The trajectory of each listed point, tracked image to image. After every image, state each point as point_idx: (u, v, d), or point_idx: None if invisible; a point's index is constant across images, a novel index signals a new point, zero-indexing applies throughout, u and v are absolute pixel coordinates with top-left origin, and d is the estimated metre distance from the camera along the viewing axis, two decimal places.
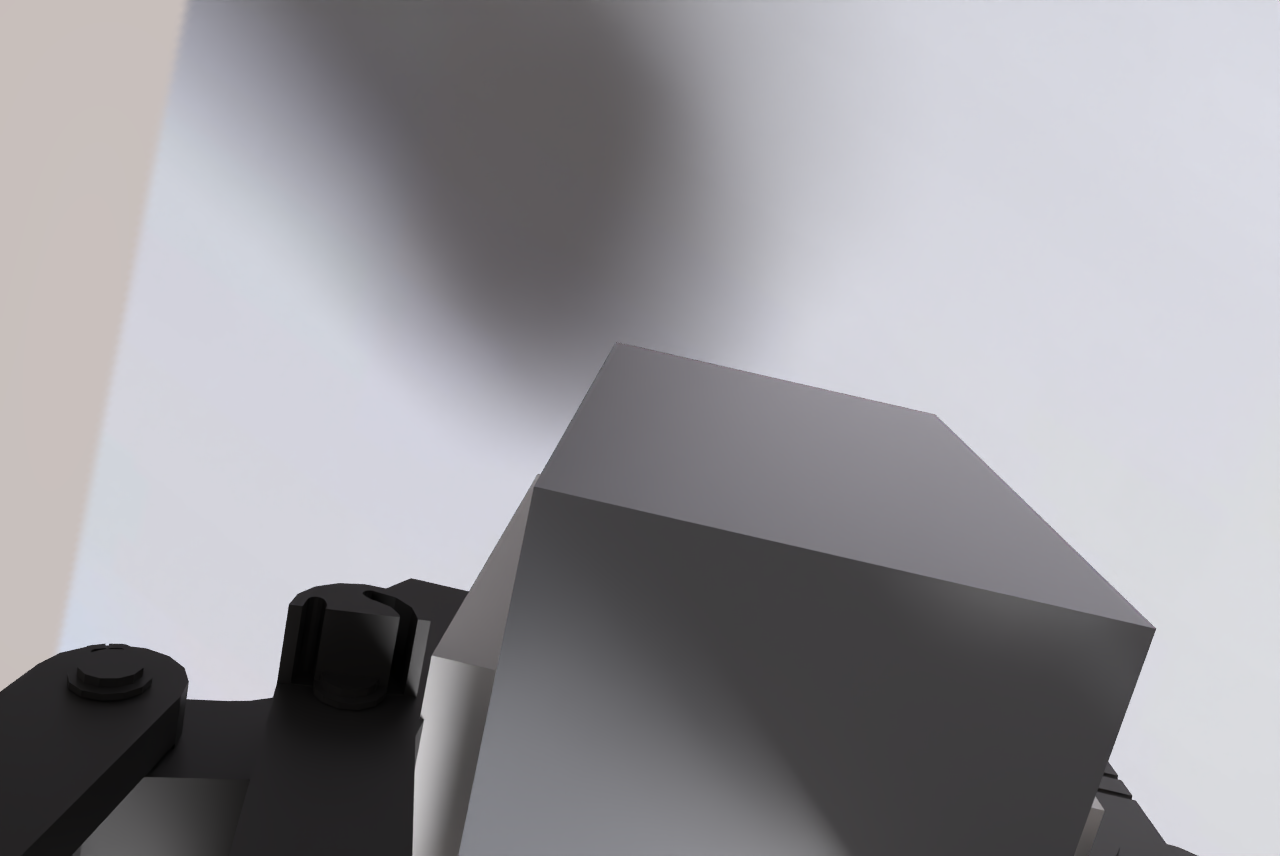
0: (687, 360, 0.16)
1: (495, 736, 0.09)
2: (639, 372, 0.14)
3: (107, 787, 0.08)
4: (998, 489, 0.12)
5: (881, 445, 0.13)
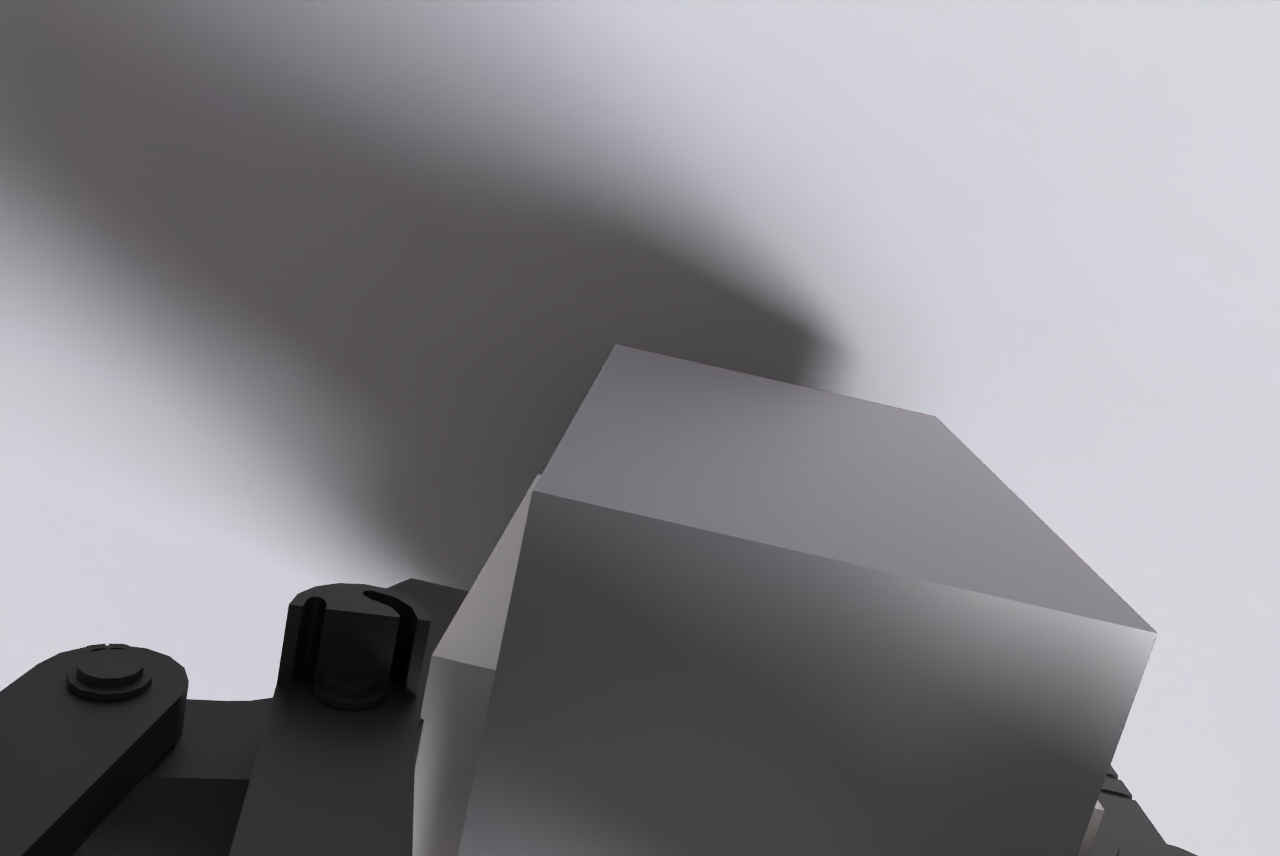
0: (687, 362, 0.16)
1: (493, 741, 0.09)
2: (638, 374, 0.14)
3: (107, 787, 0.08)
4: (999, 492, 0.12)
5: (881, 447, 0.13)
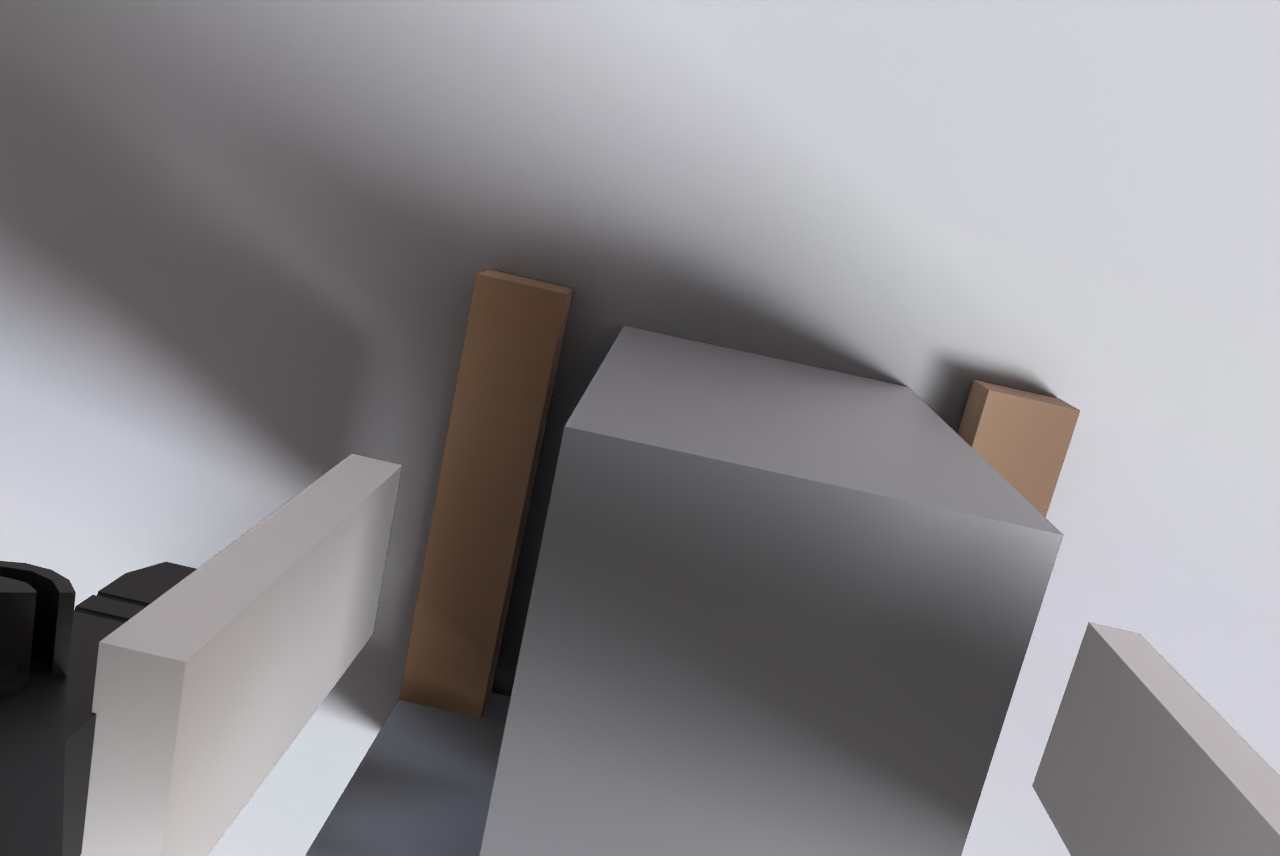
0: (687, 340, 0.18)
1: (534, 631, 0.11)
2: (645, 348, 0.16)
3: None
4: (953, 441, 0.14)
5: (855, 407, 0.15)
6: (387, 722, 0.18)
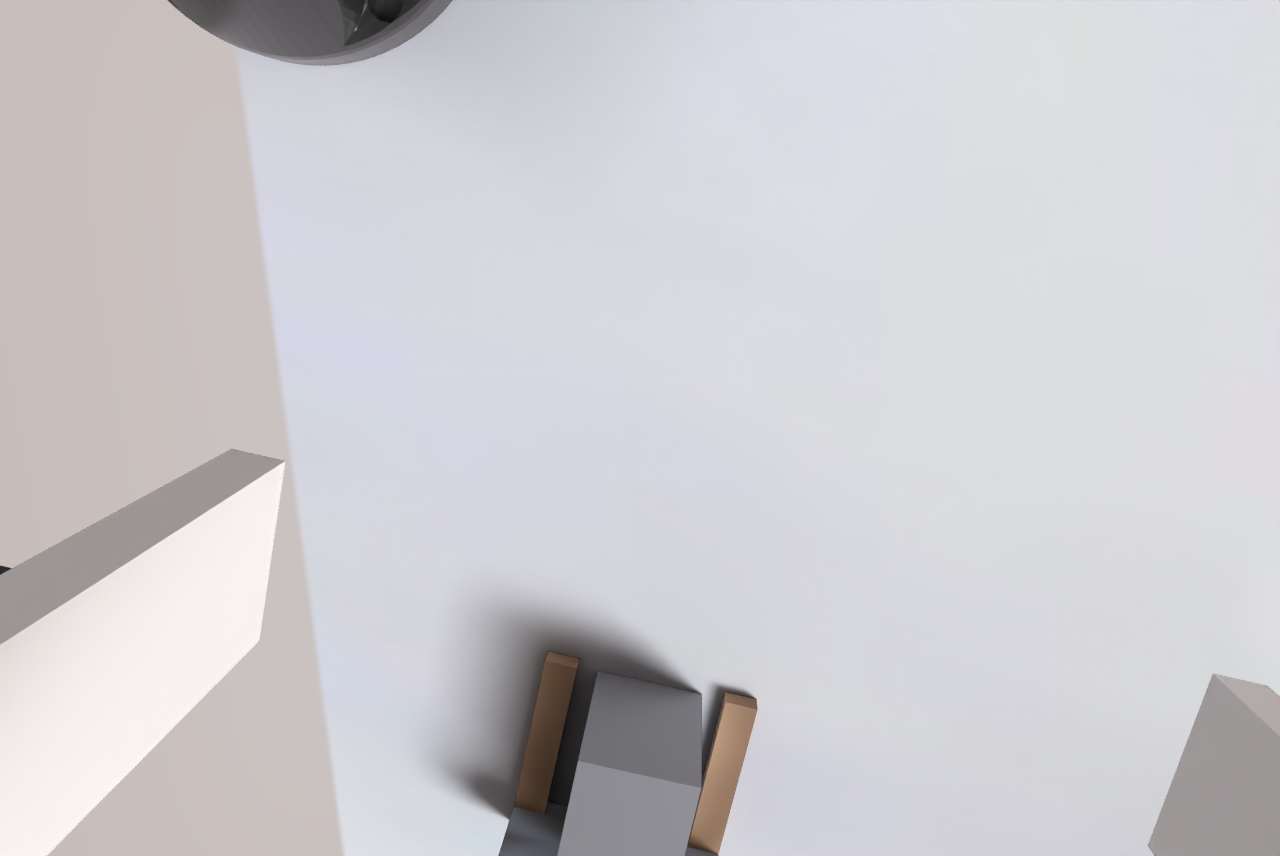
0: (620, 677, 0.49)
1: (570, 809, 0.42)
2: (604, 693, 0.47)
3: None
4: (696, 739, 0.45)
5: (670, 721, 0.46)
6: (511, 816, 0.49)
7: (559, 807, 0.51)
